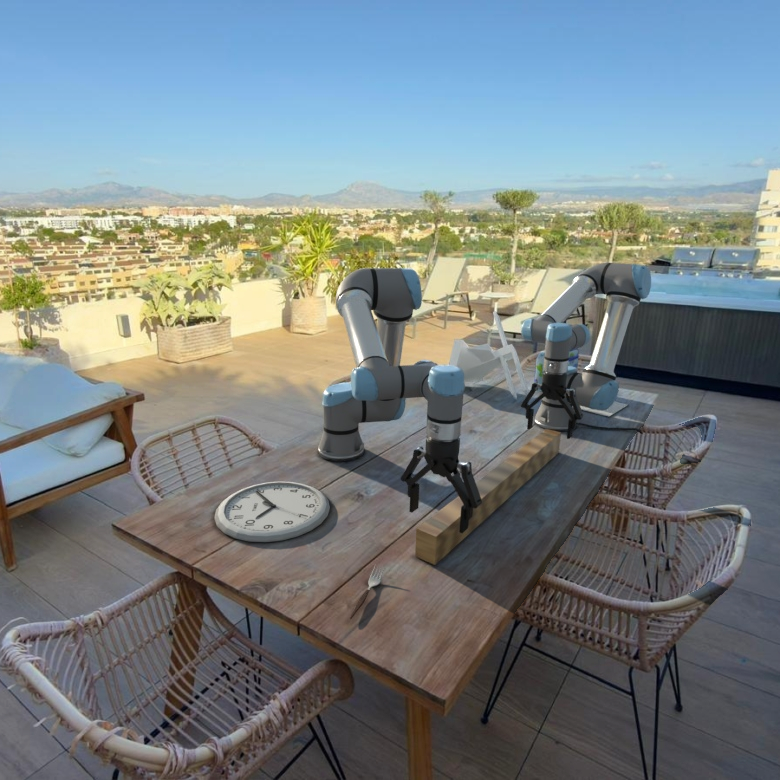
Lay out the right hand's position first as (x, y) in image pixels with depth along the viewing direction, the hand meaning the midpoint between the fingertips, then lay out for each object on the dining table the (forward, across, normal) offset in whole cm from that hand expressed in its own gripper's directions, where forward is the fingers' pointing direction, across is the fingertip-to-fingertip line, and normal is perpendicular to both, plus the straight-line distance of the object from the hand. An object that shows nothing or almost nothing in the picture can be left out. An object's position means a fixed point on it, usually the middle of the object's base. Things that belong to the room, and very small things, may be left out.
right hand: (549, 432), depth 175 cm
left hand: (-2, 0, -70) cm, 70 cm away
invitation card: (+10, 0, +64) cm, 65 cm away
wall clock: (+5, -44, -82) cm, 93 cm away
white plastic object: (+9, -51, +48) cm, 71 cm away
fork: (+5, -3, -93) cm, 93 cm away
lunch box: (+10, -24, +74) cm, 79 cm away
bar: (+7, 0, -35) cm, 36 cm away
